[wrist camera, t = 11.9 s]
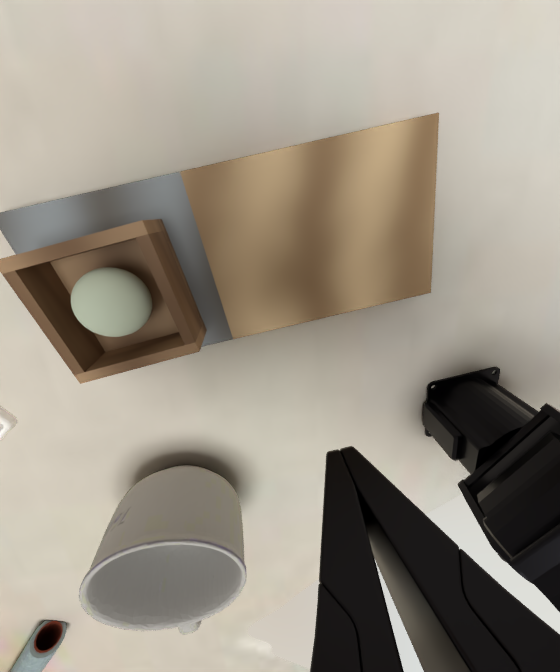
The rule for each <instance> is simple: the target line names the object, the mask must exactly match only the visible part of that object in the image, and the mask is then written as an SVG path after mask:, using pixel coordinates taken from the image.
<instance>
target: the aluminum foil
mask: <svg viewBox="0 0 560 672" xmlns="http://www.w3.org/2000/svg"><path fill="white" fill-rule="evenodd" d="M65 633H66V623H65V622H59V621H50V620H46V621H44V622H43V623H42V624H41V625H40V626H39V627H38V628H37V629H36V630H35V632H34V633H33V635H32V637H31V638H30V640H29V641H28V643H27V645H26V646H25V648H24V650H23V651H22V653H21V655H20V656H19V658H18V659H17V661H16V663H15V664H14V666H13V668H12V669H11V671H10V672H42V670H43V669H44V668H45V666H46V665H47V663H48V662H49V660H50V659H51V658H52V656H53V655H54V653H55V652H56V650H57V649H58V647H59V646H60V644H61V643H62V641H63V639H64V637H65Z"/></svg>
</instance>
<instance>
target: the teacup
mask: <svg viewBox="0 0 560 672" xmlns="http://www.w3.org/2000/svg"><path fill="white" fill-rule="evenodd" d="M245 582H246V566H245V563H244V542H243V525H242V515H241V508H240V503H239V499H238V497H237V494H236V492H235V490H234V489H233V487H232V486H231V485H230V483H229V482H228V481H227V480H225V479H224V478H223V477H222V476H220V475H218V474H217V473H214V472H212V471H210V470H208V469H205V468H202V467H198V466H191V465H184V466H176V467H171V468H168V469H165V470H161V471H158V472H156V473H153V474H151V475H149V476H147V477H145V478H144V479H142V480H141V481H139V482H138V483H137V484H135V485H134V486H133V487H132V488H131V489H130V490H129V491H128V492H127V494H126V495H125V496H124V497H123V499H122V500H121V502H120V503H119V505H118V507H117V509H116V510H115V512H114V514H113V517H112V519H111V521H110V523H109V525H108V527H107V529H106V532H105V534H104V536H103V539H102V541H101V543H100V546H99V548H98V550H97V553H96V555H95V558H94V560H93V563H92V565H91V568H90V570H89V571H88V573H87V574H86V576H85V577H84V579H83V581H82V584H81V587H80V592H79V600H80V603H81V606H82V608H83V609H84V610H85V611H86V612H87V614H89V615H90V616H92V617H93V618H94V619H95V620H97V621H99V622H101V623H103V624H105V625H109V626H111V627H116V628H121V629H125V630H135V631H149V630H162V629H170V628H175V627H178V629H179V631H180V633H181V634H190V633H193V632H195V631H196V630H198V628H199V626H200V624H201V620H203V619H205V618H208V617H210V616H212V615H214V614H216V613H218V612H220V611H222V610H223V609H224V608H226V607H227V606H229V605H230V604H231V603H232V602H233V601H234V600H235V599H236V598H237V597H238V596H239V594H240V593H241V591H242V590H243V588H244V585H245Z"/></svg>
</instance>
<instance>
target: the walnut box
mask: <svg viewBox="0 0 560 672" xmlns="http://www.w3.org/2000/svg"><path fill="white" fill-rule="evenodd" d="M105 267H112V268H119V269H123V270H126V271H128V272H131V273H132V274H134V275H136V276H137V277H138V278H140V279H141V280H142V281H143V282H144V284H145V285H146V286H147V288H148V290H149V291H150V294H151V298H152V311H151V315H150V317H149V319H148V320H147V322H146V323H145V324H144V325H143V326H142V327H141V328H140V329H139V330H137V331H136V332H134V333H132V334H129V335H125V336H120V337H109V336H103V335H99V334H97V333H94V332H92V331H90V330H89V329H87V328H86V327H84V326H83V325H82V324H81V323H80V322H79V321H78V319H77V318H76V316H75V315H74V312H73V310H72V307H71V293H72V290H73V287H74V286H75V284H76V282H77V281H78V280H79V279H80V278H81V277H82V276H83V275H85V274H86V273H88V272H90V271H92V270H95V269H98V268H105ZM0 272H1V273H2V274H3V276H4V277H5V279H6V280H7V281H8V283H9V284H10V286H11V287H12V289H13V290H14V291H15V293H16V294H17V296H18V297H19V298H20V300H21V301H22V303H23V304H24V305H25V307H26V308H27V310H28V311H29V312H30V314H31V315H32V317H33V318H34V319H35V321H36V322H37V324H38V325H39V326H40V328H41V329H42V331H43V332H44V334H45V335H46V336H47V338H48V339H49V341H50V342H51V343H52V345H53V346H54V348H55V349H56V350H57V352H58V353H59V355H60V356H61V357H62V359H63V360H64V362H65V363H66V364H67V366H68V367H69V369H70V370H71V371H72V373H73V374H74V376H75V377H76V378H77V380H78V381H79V383H80V384H81V383H85V382H88V381H92V380H96V379H100V378H103V377H107V376H111V375H114V374H118V373H122V372H125V371H129V370H133V369H136V368H140V367H144V366H147V365H151V364H155V363H159V362H162V361H166V360H170V359H173V358H177V357H181V356H184V355H188V354H192V353H195V352H199V351H200V348H201V345H202V343H203V340H204V337H205V334H206V331H207V329H206V327H205V324H204V322H203V320H202V317H201V315H200V312H199V310H198V307H197V305H196V302H195V300H194V297H193V295H192V292H191V290H190V288H189V285H188V283H187V280H186V278H185V275H184V273H183V270H182V268H181V265H180V263H179V260H178V258H177V256H176V253H175V251H174V248H173V246H172V243H171V241H170V238H169V236H168V233H167V231H166V228H165V226H164V224H163V221H162V219H153V220H141V221H137V222H134V223H130V224H126V225H123V226H119V227H115V228H112V229H108V230H105V231H101V232H97V233H94V234H90V235H86V236H83V237H79V238H75V239H72V240H68V241H64V242H61V243H57V244H53V245H50V246H46V247H42V248H39V249H35V250H31V251H28V252H24V253H20V254H17V255H13V256H9V257H6V258H2V259H0Z"/></svg>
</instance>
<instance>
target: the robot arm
mask: <svg viewBox="0 0 560 672" xmlns="http://www.w3.org/2000/svg"><path fill="white" fill-rule="evenodd" d="M494 370H496V371H495V373H494V374H492V372H493V371H494ZM499 374H500V369H499V368H498V367H491V368H487V369H483V370H479V371H475V372H470V373H466V374H462V375H458V376H454V377H450V378H445V379H441V380H437V381H433V382H430V383H429V384H428V386H427V398H426V403H425V404H424V411H423V425H424V427H425V434H426V436H428V437H430V436H433V438H434V439H435V440H436V441H437V442H438V444H439V445H440V446H441V447H442V448H443V450H444V451H445V452H446V453H447V454H448V456H449V457H450V458H451V459H453V460H455V461H456V460H459V461H460V462H461V463H462V465H463V466H464V467H465V468H466V469H467V470H468V472H469V473H470V475H469V476H468V477H467V478H466V479H465V480H461V481H460V482H459V483H458V486H459V488H460V490H461V492H462V493H463V496H464V498H465V500H466V502H467V503H468V505H469V507H470V509H471V510H472V512H473V514H474V516H475V518H476V519H477V521H478V523H479V525H480V527H481V528H482V530H483V532H484V534H485V536H486V537H487V539H488V541H489V543H490V545H491V546H492V548H493V549H494V550H495V551H496V552H497V553H498V555H499V556H500V557H501V559H502V560H504V561H505V562H507V563H508V564H509V565H510V566H511V567H512V568H513V569H514V570H515V571H516V572H518V573H519V574H520V575H521V576H522V577H524V578H525V579H526V580H528V581H529V582H531V583H532V584H534V585H535V586H536V587H537V588H538V589H539V590H540V591H541V592H542V593H543V594H544V595H545V596H546V597H547V598H548V599H549V600H550V602H551V603H552V604H553V605H554V606H555V607H556V608H557V610H558V611H559V612H560V411H559V410H558V409H556V408H554V407H552V406H550V405H549V404H547V403H546V404H545V405H544V406H542V407H541V408H540V409H541V411H539V412H538V411H537V410H535V409H534V408H532V407H531V406H529V405H528V404H526V403H525V402H523V401H522V400H521V399H519V398H518V397H516V396H515V395H513V394H512V393H510V392H509V391H507V390H506V389H504V388H503V387H502V386H500V385H499V384H498V379H499ZM433 385H435V387H434V388H431V386H433ZM374 558H375V559H374ZM375 560H376V562H377V565H378V567H379V569H380V572H381V574H382V576H383V579H384V580H385V583H386V585H387V587H388V590H389V592H390V594H391V597H392V599H393V601H394V604H395V606H396V608H397V611H398V613H399V615H400V617H401V620H402V622H403V624H404V627H405V629H406V631H407V634H408V636H409V638H410V640H411V643H412V645H413V647H414V649H415V652H416V654H417V657H418V658H419V661H420V663H421V666H422V668H423V670H424V672H560V634H558V633H557V632H556V631H555V630H554V629H552V628H551V627H550V626H549V625H547V624H546V623H545V622H544V621H542V620H541V619H540V618H539V617H538V616H536V615H535V614H534V613H533V612H532V611H530V610H529V609H528V608H527V607H526V606H525V605H523V604H522V603H521V602H520V601H519V600H517V599H516V598H515V597H514V596H513V595H512V594H510V593H509V592H508V591H507V590H506V589H504V588H503V587H502V586H501V585H500V584H499V583H498V582H497V581H496V580H495V579H493V578H492V577H491V576H490V575H489V574H488V573H487V572H486V571H485V570H484V569H482V568H481V567H480V566H479V565H478V564H477V563H476V562H475V561H474V560H473V559H472V558H470V556H469V555H467V554H466V553H465V552H464V551H463V550H462V549H459V547H458V545H457V544H456V543H455V542H454V541H452V540H451V539H450V538H449V537H448V536H447V535H446V534H445V533H444V532H443V531H442V530H441V529H440V528H439V527H438V526H437V525H435V523H433V522H432V521H431V520H430V519H429V518H428V517H427V516H426V515H425V514H424V513H423V512H422V511H421V510H420V509H419V508H418V507H417V506H415V505H414V504H413V503H412V502H411V501H410V500H409V499H408V498H407V497H406V496H405V495H404V494H403V493H402V492H401V491H400V490H399V489H398V488H396V487H395V486H394V485H393V484H392V483H391V482H390V481H389V480H388V479H387V478H386V477H385V476H384V475H383V474H382V473H381V472H380V471H379V470H377V469H376V468H375V467H374V466H373V465H372V464H371V463H370V462H369V461H368V460H367V459H366V458H365V457H364V456H363V455H362V454H361V453H359V452H358V451H357V450H356V449H355V448H354V447H352V446H349V447H345V448H341V449H340V450H333V451H329V452H327V454H326V470H325V487H324V505H323V522H322V539H321V556H320V573H319V582H320V584H319V587H318V605H317V617H316V628H315V639H314V646H313V654H312V661H311V669H310V672H404V671H403V668H402V664H401V660H400V656H399V652H398V648H397V645H396V640H395V637H394V633H393V629H392V625H391V621H390V617H389V613H388V610H387V606H386V602H385V598H384V594H383V590H382V587H381V583H380V579H379V575H378V571H377V567H376V563H375Z"/></svg>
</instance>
